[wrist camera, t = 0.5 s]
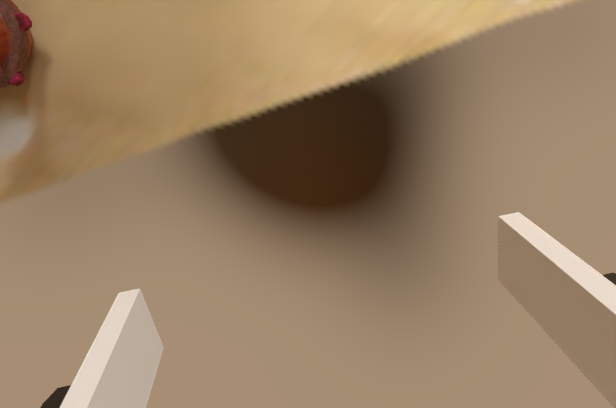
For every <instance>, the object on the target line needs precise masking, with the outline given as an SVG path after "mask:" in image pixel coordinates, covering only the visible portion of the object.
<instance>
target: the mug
mask: <svg viewBox="0 0 616 408" xmlns="http://www.w3.org/2000/svg"><path fill="white" fill-rule="evenodd" d="M31 27H32V22H31V20H30V19H29V17H28V16H27V15H25V14H24V13H21V11H20V10H19V9H18V8H17V7H16V5H15V4H14V3H13V2H12V0H0V88H2V87H5V86H7V85H8V84H10V85H16V86H18V85H21V84H22V83H23V82H24V75H23V73H22V72H23V70H24V67H25V65H26V63H27V61H28V59H29V57H30V55H31V50H32V45H33V44H32V36H31V32H30V30H29V29H30V28H31Z"/></svg>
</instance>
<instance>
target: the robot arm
mask: <svg viewBox="0 0 616 408" xmlns="http://www.w3.org/2000/svg"><path fill="white" fill-rule="evenodd" d="M498 280H499V281H500V282H501V283H502V285H503V286H504V287H505V288H506V289H507V290H508V291H509V292H510V293H511V294H512V296H513V297H514V298H515V299H516V300H517V301H518V302H519V303H520V304H521V306H522V307H524V309H525V310H526V311H527V312H528V313H529V314H530V316H531V317H532V318H533V319H534V320H535V321H536V322H537V323H538V324H539V325H540V326H541V327H542V329H543V330H544V331H545V332H546V333H547V334H548V335H549V337H550V338H551V339H552V340H553V341H554V342H555V343H556V344H557V345H558V346H559V347H560V349H561V350H562V351H563V352H564V353H565V354H566V355H567V356H568V357H569V359H570V360H571V361H572V362H573V363H574V364H575V365H576V366H577V367H578V369H579V370H580V371H581V372H582V373H583V374H584V375H585V376H586V377H587V379H589V381H590V382H591V383H592V384H593V385H594V386H595V387H596V388H597V390H599V392H600V393H601V394H602V395H603V396H604V397H605V398H606V400H607V401H608V402H609V403H610V404H611V405H612V406H613V407H614V408H616V274H615V273H609V274H605V275H601V274H600V273H599V272H597V271H596V270H595V269H593V268H592V267H591V266H589V265H588V264H587V263H585V262H584V261H583V260H581V259H580V258H579V257H577V256H576V255H575V254H573V253H572V252H571V251H570V250H568V249H567V248H566V247H564V246H563V245H562V244H560V243H559V242H558V241H556V240H555V239H554V238H552V237H551V236H550V235H548V234H547V233H546V232H544V231H543V230H542V229H540V228H539V227H538V226H536V225H535V224H534V223H532V222H531V221H530V220H528V219H527V218H526V217H525V216H523V215H522V214H520V213H519V212H518V213H512V214H507V215H502V216H498ZM163 348H164V347H163V345H162V342H161V340H160V337H159V335H158V332H157V330H156V327H155V325H154V322H153V320H152V317H151V315H150V312H149V310H148V307H147V304H146V302H145V299H144V297H143V295H142V292H141V289H135V290H130V291H125V292H120V293H118V295H117V297H116V299H115V301H114V303H113V305H112V307H111V309H110V311H109V313H108V315H107V317H106V318H105V321H104V323H103V324H102V326H101V328H100V330H99V332H98V334H97V336H96V338H95V340H94V342H93V344H92V346H91V348H90V350H89V352H88V353H87V355H86V357H85V359H84V361H83V363H82V365H81V367H80V369H79V371H78V373H77V375H76V377H75V379H74V381H73V383H72V385H71V386H65V387H61V388H57V389H56V390H55V392H54V393H53V394H52V395H51V396H50V397H49V398H48V399H47V400H46V401H45V402H44V403H43V404H42V406H41V408H146V406H147V403H148V399H149V396H150V392H151V389H152V386H153V382H154V379H155V375H156V372H157V369H158V365H159V362H160V358H161V355H162V352H163Z"/></svg>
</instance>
